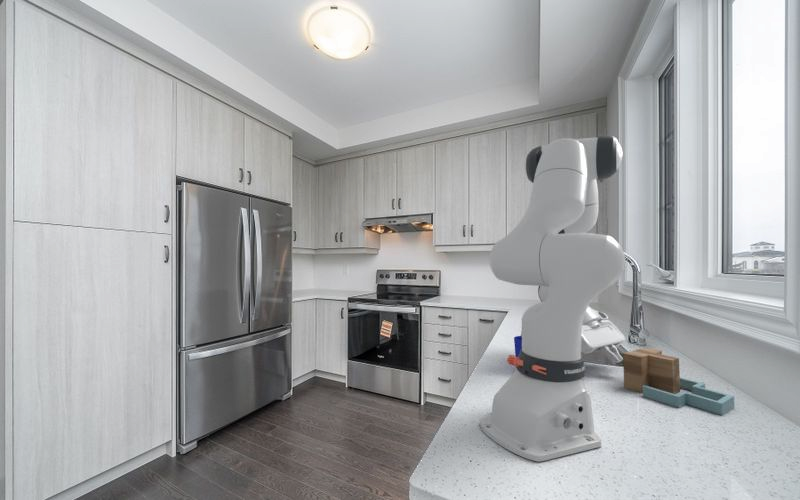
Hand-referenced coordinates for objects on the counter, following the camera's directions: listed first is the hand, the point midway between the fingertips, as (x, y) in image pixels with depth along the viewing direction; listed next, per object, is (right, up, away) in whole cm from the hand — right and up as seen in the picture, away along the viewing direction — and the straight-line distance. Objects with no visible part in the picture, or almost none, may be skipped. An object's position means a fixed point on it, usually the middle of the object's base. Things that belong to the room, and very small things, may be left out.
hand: (619, 361), depth 87 cm
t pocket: (+7, -4, -14) cm, 16 cm away
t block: (+4, -4, -8) cm, 10 cm away
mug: (-23, -5, +3) cm, 23 cm away
